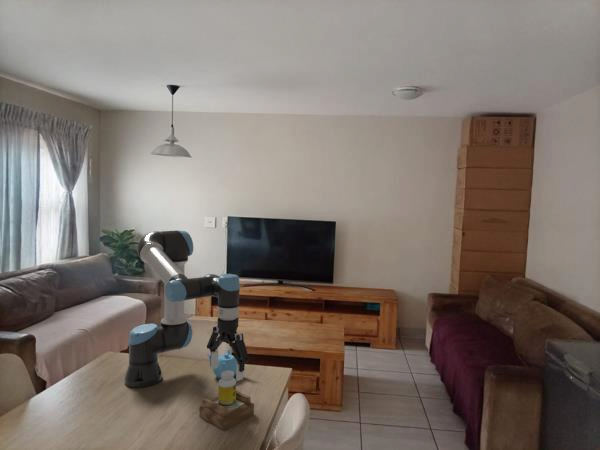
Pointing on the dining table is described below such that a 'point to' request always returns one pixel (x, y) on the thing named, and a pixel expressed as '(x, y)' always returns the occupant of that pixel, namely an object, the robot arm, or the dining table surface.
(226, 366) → the teapot
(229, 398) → the pill bottle
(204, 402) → the wooden tray
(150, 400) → the dining table surface
